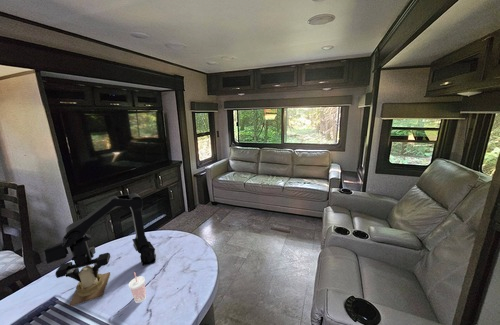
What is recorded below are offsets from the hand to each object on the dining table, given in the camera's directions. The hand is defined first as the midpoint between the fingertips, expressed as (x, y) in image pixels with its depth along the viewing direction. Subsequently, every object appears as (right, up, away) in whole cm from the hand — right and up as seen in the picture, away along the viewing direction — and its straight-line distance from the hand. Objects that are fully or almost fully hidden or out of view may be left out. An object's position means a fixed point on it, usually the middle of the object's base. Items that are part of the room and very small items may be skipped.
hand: (89, 279), depth 93 cm
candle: (0, -4, +1) cm, 4 cm away
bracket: (0, -5, +1) cm, 5 cm away
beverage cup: (+26, -6, -4) cm, 27 cm away
